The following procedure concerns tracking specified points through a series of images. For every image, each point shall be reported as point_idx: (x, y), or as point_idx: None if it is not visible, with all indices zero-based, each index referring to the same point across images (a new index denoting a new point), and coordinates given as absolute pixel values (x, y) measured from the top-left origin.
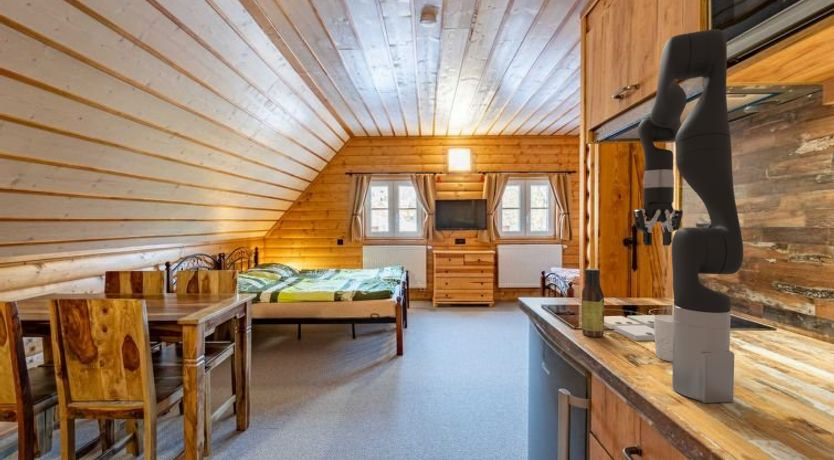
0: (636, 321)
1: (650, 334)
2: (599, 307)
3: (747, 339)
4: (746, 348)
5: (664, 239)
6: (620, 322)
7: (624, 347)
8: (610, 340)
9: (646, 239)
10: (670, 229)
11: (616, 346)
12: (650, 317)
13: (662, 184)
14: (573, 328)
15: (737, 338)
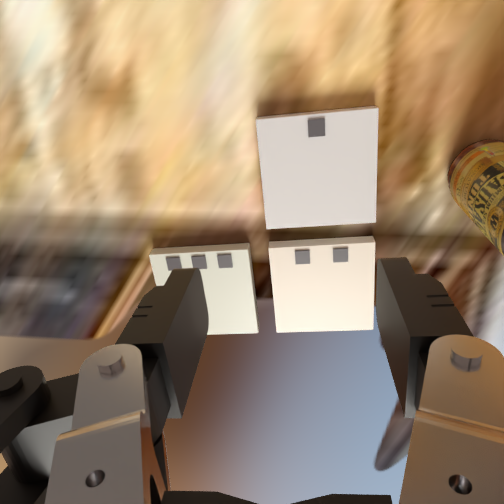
0: (253, 289)
1: (317, 118)
2: None
3: (5, 121)
4: (58, 22)
5: (194, 340)
6: (328, 262)
7: (466, 26)
8: (460, 110)
9: (448, 297)
10: (118, 372)
11: (488, 37)
12: None
13: None
14: None
15: (29, 132)
